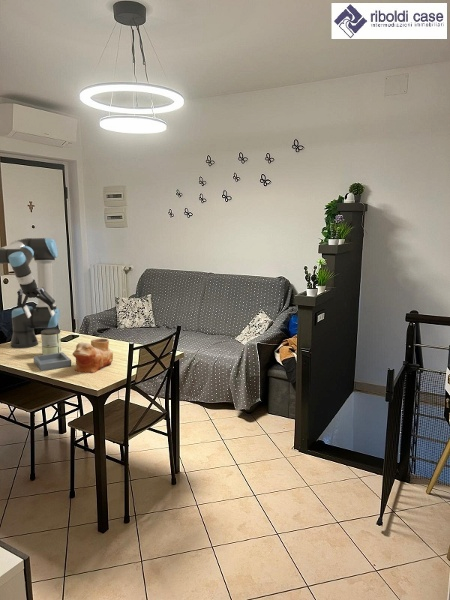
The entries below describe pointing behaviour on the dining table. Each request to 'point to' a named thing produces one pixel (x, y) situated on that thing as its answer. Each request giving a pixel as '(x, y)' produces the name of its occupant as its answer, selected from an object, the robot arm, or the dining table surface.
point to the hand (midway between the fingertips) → (41, 315)
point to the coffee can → (51, 341)
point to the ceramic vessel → (93, 356)
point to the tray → (52, 361)
